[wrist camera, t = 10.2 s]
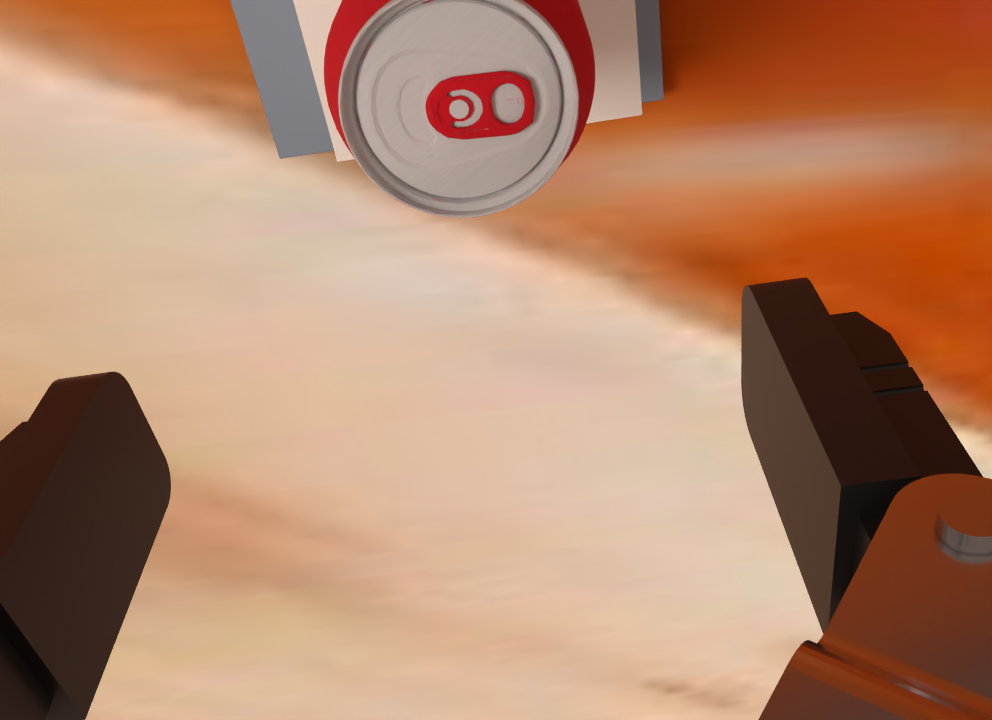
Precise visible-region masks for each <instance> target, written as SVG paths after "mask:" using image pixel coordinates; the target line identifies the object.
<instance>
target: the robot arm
mask: <svg viewBox="0 0 992 720" xmlns="http://www.w3.org/2000/svg"><path fill="white" fill-rule="evenodd" d="M741 384H742V399H743V407H744V413H745V418H746V422H747V426H748V430H749V433H750V436H751V439H752V441H753V444H754V447H755V450H756V452H757V455H758V458H759V460H760V463H761V466H762V469H763V471H764V474H765V477H766V479H767V482H768V485H769V488H770V490H771V493H772V496H773V498H774V501H775V504H776V507H777V509H778V512H779V515H780V517H781V520H782V523H783V526H784V528H785V531H786V534H787V536H788V539H789V542H790V545H791V547H792V550H793V553H794V556H795V558H796V561H797V564H798V566H799V569H800V572H801V575H802V577H803V580H804V583H805V585H806V588H807V591H808V594H809V596H810V599H811V602H812V604H813V607H814V610H815V613H816V615H817V618H818V621H819V623H820V626H821V629H822V632H823V636H822V638H821V639H820V641H819V642H818V643H814V642H812V641H809V640H807V641H805V642H803V643H802V644H801V645H800V647H799V648H798V649H797V650H796V652H795V653H794V655H793V656H792V658H791V660H790V662H789V663H788V665H787V667H786V669H785V671H784V673H783V674H782V676H781V678H780V680H779V682H778V684H777V686H776V688H775V690H774V691H773V693H772V695H771V697H770V699H769V701H768V703H767V705H766V707H765V708H764V710H763V712H762V714H761V716H760V718H759V720H992V479H988V478H984V477H983V476H982V475H981V473H980V471H979V470H978V468H977V467H976V465H975V464H974V462H973V461H972V459H971V458H970V456H969V455H968V453H967V451H966V450H965V448H964V447H963V445H962V444H961V442H960V441H959V439H958V438H957V436H956V434H955V433H954V431H953V430H952V428H951V427H950V425H949V424H948V422H947V421H946V419H945V417H944V416H943V414H942V413H941V411H940V410H939V408H938V407H937V405H936V404H935V402H934V401H933V399H932V397H931V396H930V394H929V393H928V391H924V389H923V384H922V382H921V380H920V379H919V377H918V376H917V374H916V373H915V371H914V370H913V368H912V367H909V365H908V360H907V359H906V357H905V356H904V354H903V353H902V351H901V350H900V348H899V347H898V345H897V343H896V342H895V340H894V339H893V337H892V336H891V334H890V333H889V332H887V331H886V330H884V329H883V328H881V327H879V326H878V325H876V324H875V323H873V322H872V321H870V320H869V319H867V318H866V317H864V316H863V315H861V314H860V313H858V312H857V311H856V312H849V313H842V314H834V315H829V313H828V311H827V309H826V308H825V306H824V304H823V302H822V301H821V299H820V297H819V295H818V294H817V292H816V290H815V288H814V287H813V285H812V283H811V282H810V280H809V279H808V278H798V279H791V280H784V281H777V282H769V283H762V284H755V285H748V286H745V287H744V289H743V293H742V366H741ZM170 492H171V480H170V472H169V467H168V464H167V461H166V458H165V456H164V454H163V452H162V450H161V448H160V446H159V444H158V441H157V439H156V437H155V435H154V433H153V431H152V429H151V427H150V425H149V423H148V421H147V419H146V417H145V415H144V413H143V411H142V409H141V407H140V405H139V403H138V401H137V399H136V397H135V395H134V393H133V391H132V389H131V387H130V385H129V383H128V382H127V380H126V379H125V378H124V377H123V376H122V375H121V374H119V373H117V372H107V373H99V374H92V375H85V376H78V377H71V378H63V379H58V380H56V381H54V382H53V383H52V384H51V385H50V387H49V388H48V390H47V391H46V393H45V395H44V396H43V398H42V399H41V401H40V403H39V404H38V406H37V407H36V409H35V411H34V412H33V414H32V415H31V417H30V419H29V420H28V422H22V423H21V424H20V425H18V426H17V427H16V428H15V429H14V430H13V431H12V432H11V433H9V434H8V435H7V436H6V437H5V438H4V439H3V440H1V441H0V720H85V719H86V716H87V714H88V711H89V708H90V706H91V703H92V701H93V698H94V695H95V693H96V690H97V688H98V685H99V683H100V680H101V677H102V675H103V672H104V670H105V667H106V664H107V662H108V659H109V657H110V654H111V651H112V649H113V646H114V644H115V641H116V639H117V636H118V633H119V631H120V628H121V626H122V623H123V620H124V618H125V615H126V613H127V610H128V608H129V605H130V602H131V600H132V597H133V595H134V592H135V589H136V587H137V584H138V582H139V579H140V577H141V574H142V571H143V569H144V566H145V564H146V561H147V558H148V556H149V553H150V551H151V548H152V546H153V543H154V540H155V538H156V535H157V533H158V530H159V527H160V525H161V522H162V520H163V517H164V514H165V512H166V509H167V507H168V504H169V499H170Z"/></svg>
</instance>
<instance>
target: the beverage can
mask: <svg viewBox="0 0 992 720" xmlns="http://www.w3.org/2000/svg"><path fill="white" fill-rule="evenodd" d="M324 85H325V91H326V97H327V102H328V106H329V109H330V112H331V115H332V118H333V121H334V123H335V126H336V129H337V131H338V133H339V134H340V136H341V138H342V140H343V142H344V144H345V145H346V147H347V148H348V150H349V151H350V153H351V154H352V156H353V157H354V158H355V159H356V161H357V162H358V164H359V165H360V167H361V168H362V169H363V171H364V172H365V173H366V175H367V176H368V177H369V178H370V179H371V180H372V181H373V182H374V183H375V184H376V185H377V186H378V187H379V188H380V189H382V190H383V191H384V192H386V193H387V194H388V195H390V196H391V197H393V198H394V199H396V200H397V201H399V202H401V203H403V204H405V205H407V206H409V207H411V208H414V209H416V210H419V211H422V212H424V213H428V214H432V215H436V216H442V217H451V218H474V217H479V216H484V215H490V214H493V213H496V212H499V211H502V210H505V209H508V208H510V207H512V206H514V205H516V204H519V203H521V202H522V201H524V200H525V199H527V198H528V197H529V196H531V195H532V194H534V193H535V192H536V191H537V190H538V189H540V188H541V187H542V186H543V185H544V184H545V183H546V182H547V181H548V180H549V179H550V178H551V177H552V175H553V174H554V173H555V172H556V170H557V169H558V168H559V167H560V165H561V164H562V163H563V162H564V161H565V160H566V158H567V157H568V156H569V155H570V153H571V152H572V150H573V148H574V147H575V145H576V144H577V142H578V140H579V138H580V136H581V134H582V132H583V130H584V127H585V125H586V122H587V120H588V117H589V113H590V110H591V106H592V102H593V97H594V90H595V59H594V52H593V47H592V42H591V39H590V35H589V32H588V29H587V26H586V23H585V20H584V17H583V14H582V11H581V8H580V5H579V2H578V0H342V2H341V4H340V6H339V8H338V11H337V13H336V15H335V18H334V20H333V22H332V25H331V28H330V31H329V34H328V38H327V43H326V48H325V56H324Z"/></svg>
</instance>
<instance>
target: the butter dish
mask: <svg viewBox="0 0 992 720" xmlns="http://www.w3.org/2000/svg"><path fill="white" fill-rule="evenodd" d="M230 1H231V4H232V7H233V10H234V13H235V17H236V20H237V23H238V26H239V29H240V33H241V36H242V39H243V42H244V45H245V49H246V52H247V55H248V58H249V61H250V65H251V68H252V71H253V74H254V77H255V81H256V84H257V87H258V90H259V93H260V97H261V100H262V103H263V106H264V109H265V113H266V116H267V119H268V122H269V125H270V129H271V132H272V135H273V138H274V141H275V145H276V148H277V151H278V154H279V157H280V159H282V158H288V157H295V156H301V155H307V154H314V153H320V152H327V151H333V150H334V152H335V155H336V159H337V162H339V161H345V160H352V159H355V158H354V157H353V156H352V154H351V153H350V151H349V150H348V148H347V147H346V145H345V144H344V142H343V140H342V138H341V136H340V134H339V133H338V131H337V129H336V126H335V123H334V121H333V118H332V115H331V112H330V109H329V106H328V102H327V97H326V91H325V85H324V56H325V48H326V43H327V38H328V34H329V31H330V28H331V25H332V22H333V20H334V18H335V15H336V13H337V11H338V8H339V6H340V4H341V2H342V0H230ZM578 2H579V5H580V8H581V11H582V14H583V17H584V20H585V23H586V26H587V29H588V32H589V35H590V39H591V42H592V47H593V52H594V59H595V90H594V97H593V102H592V106H591V110H590V113H589V117H588V120H587V122H586V123H592V122H599V121H605V120H612V119H619V118H625V117H632V116H638V115H642V103H643V102H650V101H656V100H663V99H664V93H663V72H662V52H661V31H660V11H659V0H578Z"/></svg>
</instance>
